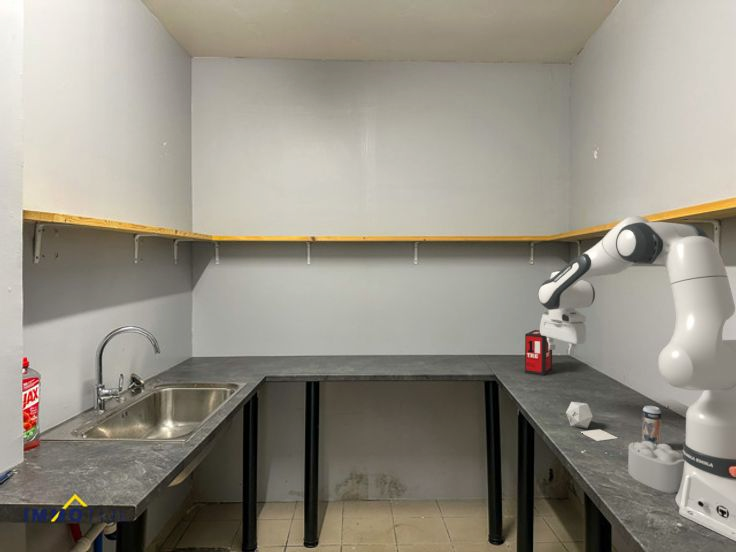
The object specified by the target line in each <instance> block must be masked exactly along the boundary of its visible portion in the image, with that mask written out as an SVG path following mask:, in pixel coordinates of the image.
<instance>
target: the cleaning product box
mask: <svg viewBox="0 0 736 552" xmlns="http://www.w3.org/2000/svg"><path fill="white" fill-rule="evenodd" d="M524 336H525V337H524V342H525V343H524V373H525V374H528V375H535V376H541V377H544V376H545V375H546V374H548V373H549V372H550V371H552V370H553V350H551V349H549V344H548V341H547V337H546V336H542V335H541V334H540V329H539V330H538V329H534V330H532V331H529V332H527V333H525V335H524Z"/></svg>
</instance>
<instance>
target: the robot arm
mask: <svg viewBox="0 0 736 552" xmlns="http://www.w3.org/2000/svg"><path fill="white" fill-rule="evenodd" d="M605 234H606V235H604V237H602V239H601V240H600V241H598V242H597V243H596V244H595V245H593V246H592V247H590V248H589V249H588V250H586V251H585V252H583V253H581V254H579V255H578V256H577V257H575V258H574V259H572V260H571V261H570V262H569V263H568V264H566V265H565V266H564V267H563V268H562V269H561V270H555V271H553V272H552V273H551V274H550V277H549V279H547V280H545V281H544V282H542V284H541V285H540V286H539V288H538V291H537V299H538V301H539V302H540V304H541V305H542V306H543V307H544V308H545V309H547V310H548V311H544V313H542V316H541V319H540V323H539V330H540V334H541V335H542V336H546V337H547V341H548V344H549V349H551V350H552V351H554V350H556V344H555V343H554V340H559V341H562V342H565V343H568V346H569V348H567V349H566V355H569V356H573V355H574V351H575V349H576V347H577V345H583V344H585V342H586V339H587V338H586V337H587V331H586V328H587V327H586V324H585V323H586V320H587V318H586V315H584V314H582V313H581V312H579V311H578V310H576V309H586V308H589V307H591V306H592V304H593V303H594V301H595V297H596V291H595V288H594V285H593V284H592V283H591V282H589V281H585V279H588V278H592V277H593V278H594V277H599V276H600V277H601V276H607V275H616V274H617V275H618V274H619V273H622V272H623V271H626V270H627V269H629V268H630V267H632V265H634V264H638V265H639V264H648V265H652V264H653V265H655V264H656V265H663V266H665V268H666V269H667V273H668V278H669V283H670V284H669V285H670V288H671V294H672V299H673V305H674V312H675V325H674V329H673V333H672V335H671V337H670V338H671V339H670V340H669V342H668V343H667V344H666V346H665V347H663V348H662V350H661V351H660V353H659V355H658V358H657V367H658V371H659V374H660V375H661V376H662V378H663V379H664V381H665V382H666V383H667V384H668V385H670V386H672V387H674V388H679V389H683V390H687V391H688V390H689V391H696V392H697V391H698V392H701V391H702V393H701V395H700V396H699V397H698V399H697V400H696V401H694V402H693V403H692V404H690V406H688V408H687V410H686V413H685V440H684V442H683V443H682V454H683V459H684V469H683V476H682V481H681V485H680V488H679V491H678V492H676V493H677V494H676V496H675V503H676V504H677V506H678V507H679V508H678V509H679V510H678V514H679V515H680V516H682V517H684V518H685V519H688V520H690V521H693V522H694V523H696V524H699V525H701V526H703V527H705V528H707V529H709V530H712V531H713V532H715V533H718V534H719V535H722V536H723V537H726V538H728V539H730V540H732V541H734V542H736V339H723V330H724V327H725V324H726V322H727V320H729V319H730V318H731V317H733V315H734V314H735V311H736V305H735V301H734V297H733V293H732V289H731V285H730V281H729V276H728V272H727V270H726V266H725V264H724V261H723V259H722V256H721V254H720V251H719V250H718V248H717V246H716V244H715V243H714V241H713V240H712V239H710V238H709V237H708V234H707V233H706V231H705V230H704V228H701V227H699V226H698V225H695V224H690V223H678V222H677V223H674V222H665V221H652V222H651V221H650V220H648V219H646V218H645V217H643V216H638V215H636V216H635V215H632V216H628V217H626V218H624V219H622V220H621V221H620V222H618V223H617V224H616V225H615V226H613V228H612V229H610V230H609V231H608V232H607V233H605Z"/></svg>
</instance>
